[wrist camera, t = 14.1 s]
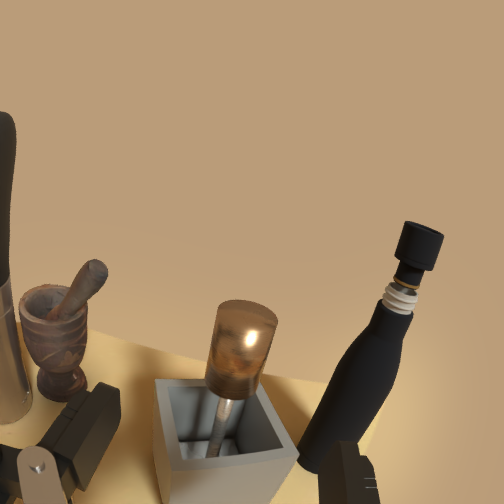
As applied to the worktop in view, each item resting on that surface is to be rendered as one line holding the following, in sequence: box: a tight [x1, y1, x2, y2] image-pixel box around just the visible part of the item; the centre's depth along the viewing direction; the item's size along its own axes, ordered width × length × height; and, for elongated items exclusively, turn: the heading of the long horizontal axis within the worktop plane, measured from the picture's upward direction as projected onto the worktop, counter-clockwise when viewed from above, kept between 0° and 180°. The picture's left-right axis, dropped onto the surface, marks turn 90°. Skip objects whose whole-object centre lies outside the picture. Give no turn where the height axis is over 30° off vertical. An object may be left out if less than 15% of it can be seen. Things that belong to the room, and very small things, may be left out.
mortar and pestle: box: [19, 259, 108, 402], centre depth 32 cm, size 12×9×20 cm
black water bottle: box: [296, 221, 444, 474], centre depth 30 cm, size 6×6×30 cm
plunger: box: [179, 300, 278, 460], centre depth 24 cm, size 7×7×19 cm
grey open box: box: [152, 379, 300, 504], centre depth 26 cm, size 10×10×12 cm
